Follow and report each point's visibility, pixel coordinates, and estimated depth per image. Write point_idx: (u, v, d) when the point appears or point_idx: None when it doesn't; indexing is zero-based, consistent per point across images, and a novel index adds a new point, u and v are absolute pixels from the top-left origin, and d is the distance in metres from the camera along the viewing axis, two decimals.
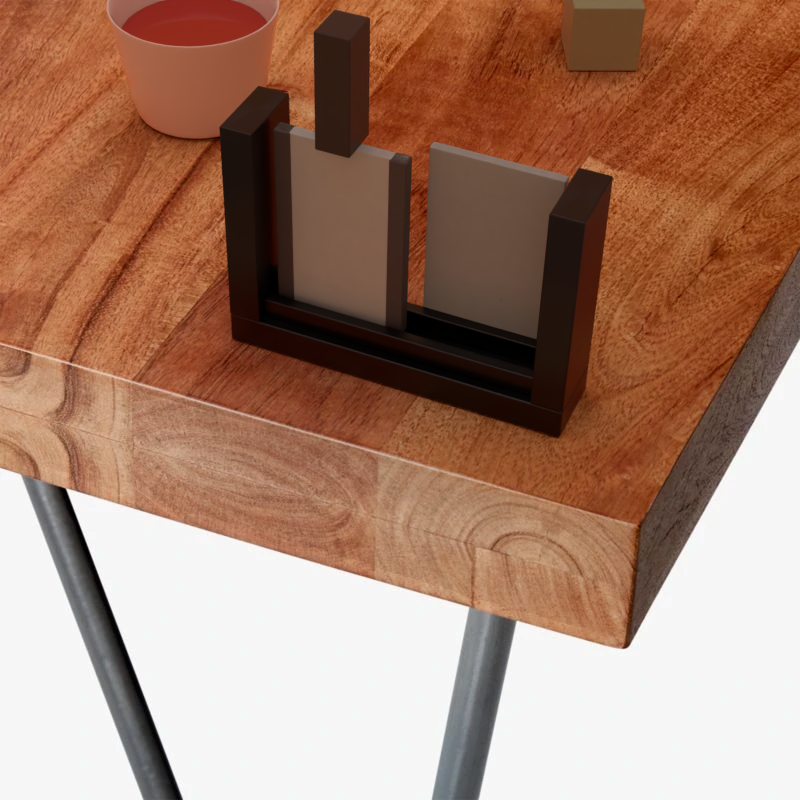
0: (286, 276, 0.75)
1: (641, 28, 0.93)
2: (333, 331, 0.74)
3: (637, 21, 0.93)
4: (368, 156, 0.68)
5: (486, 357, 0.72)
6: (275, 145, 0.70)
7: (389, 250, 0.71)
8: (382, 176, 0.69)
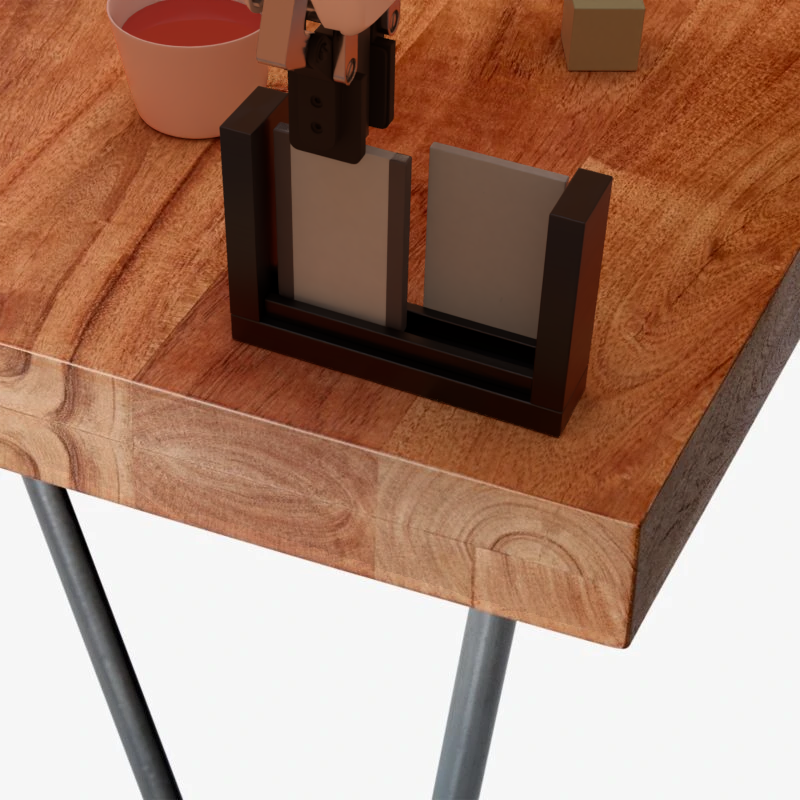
0: (286, 276, 0.75)
1: (641, 28, 0.93)
2: (333, 331, 0.74)
3: (637, 21, 0.93)
4: (368, 156, 0.68)
5: (486, 357, 0.72)
6: (275, 145, 0.70)
7: (389, 250, 0.71)
8: (382, 176, 0.69)
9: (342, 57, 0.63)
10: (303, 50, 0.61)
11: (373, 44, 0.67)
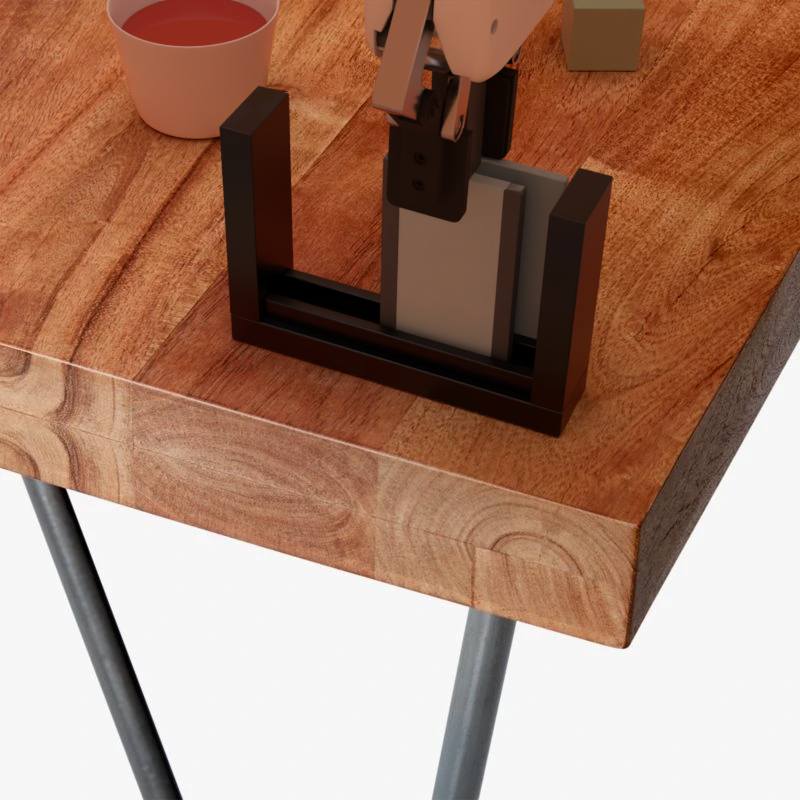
0: (389, 306, 0.73)
1: (641, 28, 0.93)
2: (333, 331, 0.74)
3: (637, 21, 0.93)
4: (482, 186, 0.67)
5: (486, 357, 0.72)
6: (384, 174, 0.69)
7: (499, 280, 0.70)
8: (495, 206, 0.67)
9: (454, 109, 0.61)
10: (417, 100, 0.58)
11: (496, 74, 0.66)
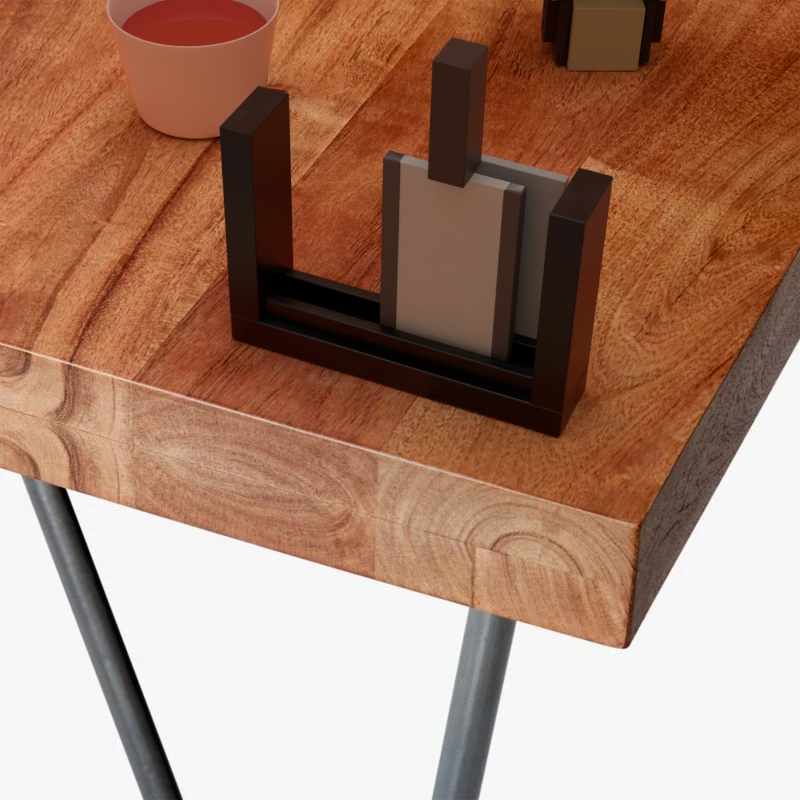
0: (389, 306, 0.73)
1: (641, 28, 0.93)
2: (333, 331, 0.74)
3: (637, 21, 0.93)
4: (482, 186, 0.67)
5: (486, 357, 0.72)
6: (384, 174, 0.69)
7: (499, 280, 0.70)
8: (495, 206, 0.67)
9: None
10: None
11: None
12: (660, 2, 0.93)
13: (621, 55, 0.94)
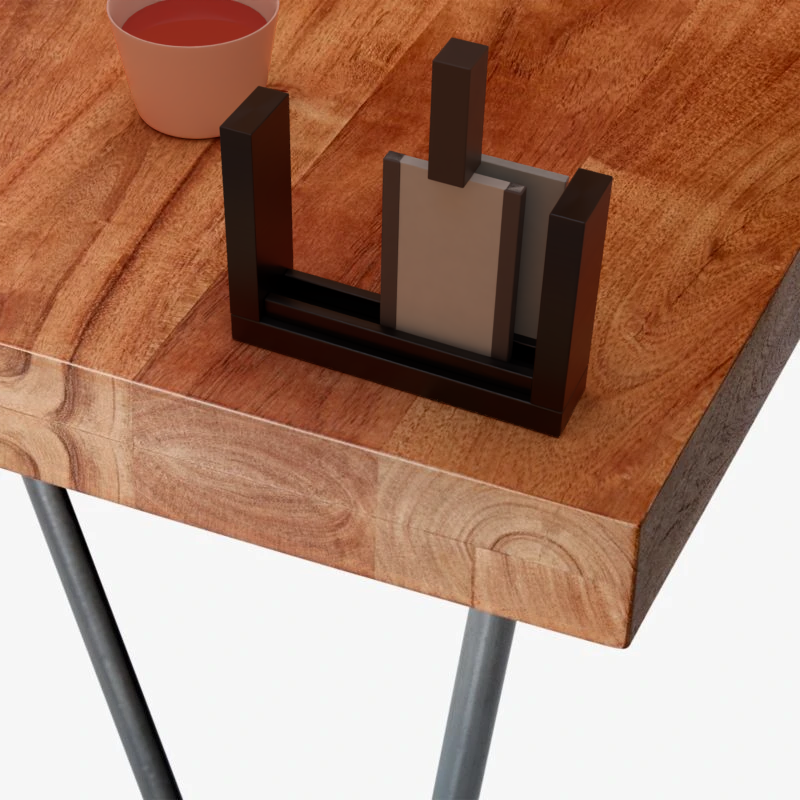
0: (389, 306, 0.73)
1: None
2: (333, 331, 0.74)
3: None
4: (482, 186, 0.67)
5: (486, 357, 0.72)
6: (384, 174, 0.69)
7: (499, 280, 0.70)
8: (495, 206, 0.67)
9: None
10: None
11: None
12: None
13: None
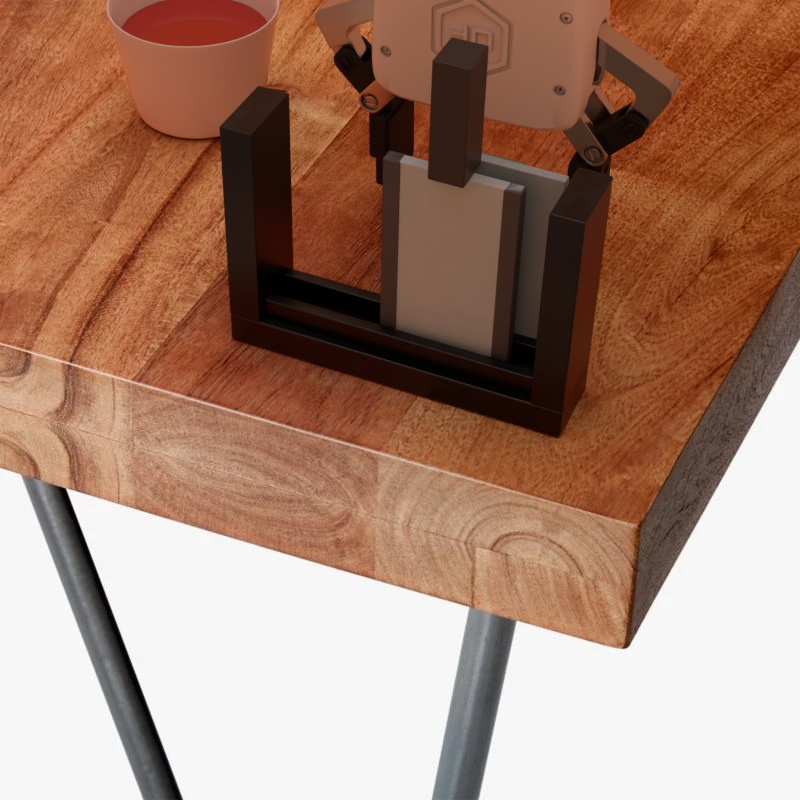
0: (389, 306, 0.73)
1: None
2: (333, 331, 0.74)
3: None
4: (482, 186, 0.67)
5: (486, 357, 0.72)
6: (384, 174, 0.69)
7: (499, 280, 0.70)
8: (495, 206, 0.67)
9: None
10: (337, 36, 0.78)
11: None
12: (594, 166, 0.76)
13: None
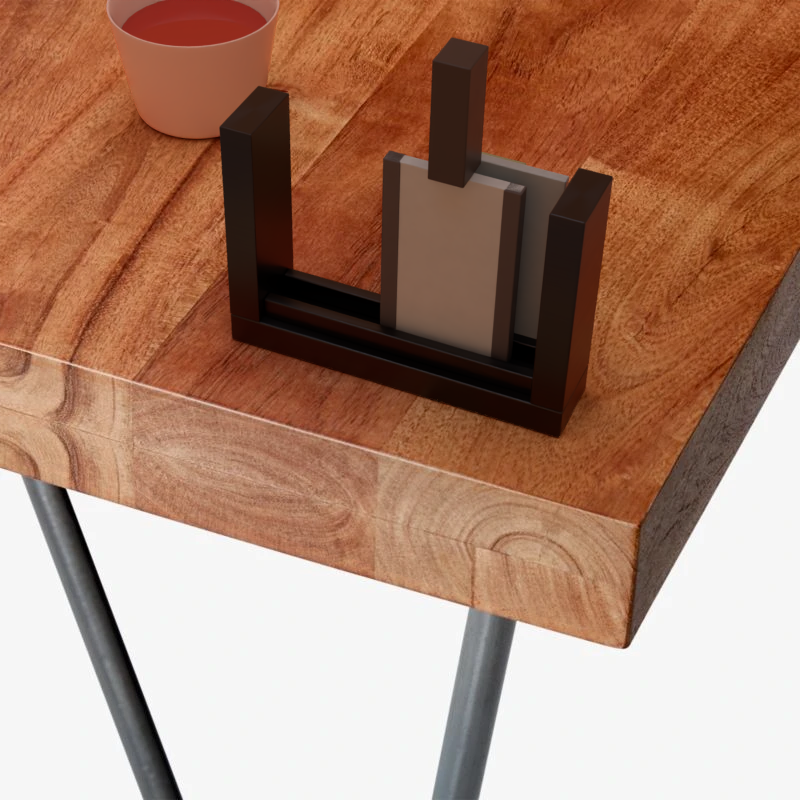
0: (389, 306, 0.73)
1: None
2: (333, 331, 0.74)
3: None
4: (482, 186, 0.67)
5: (486, 357, 0.72)
6: (384, 174, 0.69)
7: (499, 280, 0.70)
8: (495, 206, 0.67)
9: None
10: None
11: None
12: None
13: None
